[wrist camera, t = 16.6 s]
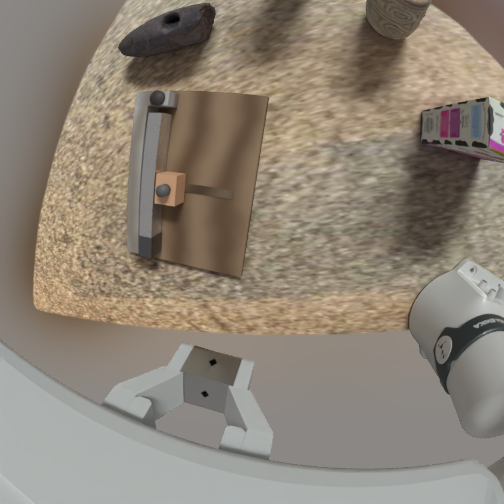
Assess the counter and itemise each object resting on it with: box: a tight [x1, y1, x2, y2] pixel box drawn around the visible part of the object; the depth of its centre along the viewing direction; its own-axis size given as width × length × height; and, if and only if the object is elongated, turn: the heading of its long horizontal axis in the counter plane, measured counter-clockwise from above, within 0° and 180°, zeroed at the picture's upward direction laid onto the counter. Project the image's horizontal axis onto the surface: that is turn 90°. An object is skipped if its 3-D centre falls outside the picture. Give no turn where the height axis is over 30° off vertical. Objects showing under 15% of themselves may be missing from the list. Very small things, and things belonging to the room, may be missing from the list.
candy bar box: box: [421, 97, 504, 163], centre depth 22 cm, size 11×5×16 cm, turn 88°
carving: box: [366, 0, 431, 39], centre depth 20 cm, size 6×8×12 cm
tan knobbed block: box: [155, 171, 186, 207], centre depth 36 cm, size 3×4×4 cm
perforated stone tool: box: [118, 3, 216, 57], centre depth 28 cm, size 15×5×7 cm, turn 95°
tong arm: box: [138, 113, 172, 258], centre depth 37 cm, size 2×20×3 cm, turn 171°
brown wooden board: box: [127, 90, 269, 277], centre depth 36 cm, size 19×25×5 cm
